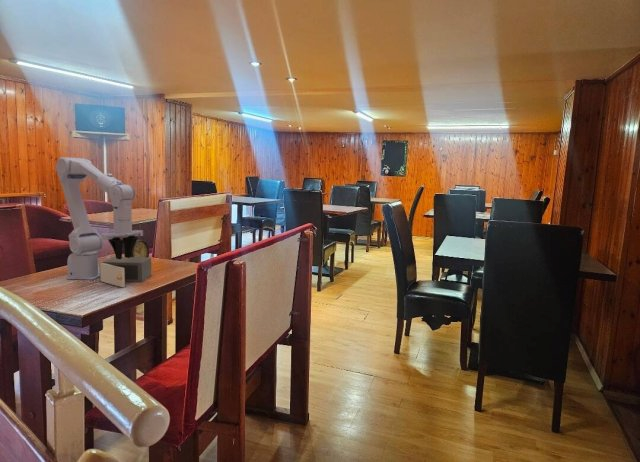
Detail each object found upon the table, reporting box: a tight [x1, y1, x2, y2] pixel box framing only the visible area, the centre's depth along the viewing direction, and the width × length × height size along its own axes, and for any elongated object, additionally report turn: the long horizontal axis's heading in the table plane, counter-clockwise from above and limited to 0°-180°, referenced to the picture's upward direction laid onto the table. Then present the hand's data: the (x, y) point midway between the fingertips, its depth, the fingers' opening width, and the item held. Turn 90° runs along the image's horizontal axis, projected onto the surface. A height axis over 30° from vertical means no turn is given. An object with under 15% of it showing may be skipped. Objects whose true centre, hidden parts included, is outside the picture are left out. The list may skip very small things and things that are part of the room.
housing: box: [101, 256, 152, 283], centre depth 157 cm, size 14×10×7 cm
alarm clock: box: [123, 229, 150, 258], centre depth 172 cm, size 11×5×16 cm, turn 168°
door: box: [98, 262, 126, 288], centre depth 147 cm, size 14×2×7 cm, turn 59°
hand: (123, 258), depth 148 cm, fingers open, 3 cm apart
